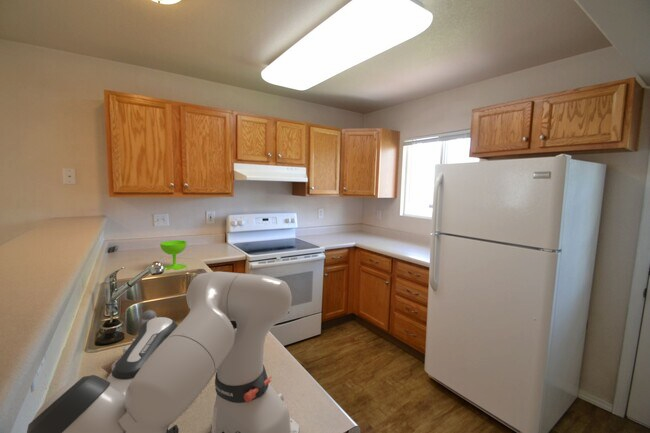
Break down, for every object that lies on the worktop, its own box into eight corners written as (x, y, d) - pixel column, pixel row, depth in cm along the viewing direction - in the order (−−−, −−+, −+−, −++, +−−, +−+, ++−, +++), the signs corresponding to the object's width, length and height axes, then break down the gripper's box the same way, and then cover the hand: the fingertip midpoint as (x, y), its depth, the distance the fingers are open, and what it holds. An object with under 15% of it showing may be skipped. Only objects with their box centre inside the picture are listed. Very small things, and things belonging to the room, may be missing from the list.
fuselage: (160, 348, 106) (158, 310, 104) (147, 354, 102) (145, 314, 100) (154, 344, 108) (151, 306, 106) (140, 349, 104) (138, 311, 103)
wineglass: (164, 266, 206) (163, 240, 204) (189, 264, 211) (188, 239, 209) (158, 273, 191) (157, 245, 189) (185, 271, 196) (184, 244, 194)
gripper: (134, 374, 86) (115, 357, 94) (199, 344, 102) (178, 332, 110) (133, 354, 85) (114, 338, 93) (199, 327, 101) (178, 315, 109)
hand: (149, 334), depth 102 cm, fingers open, 8 cm apart
